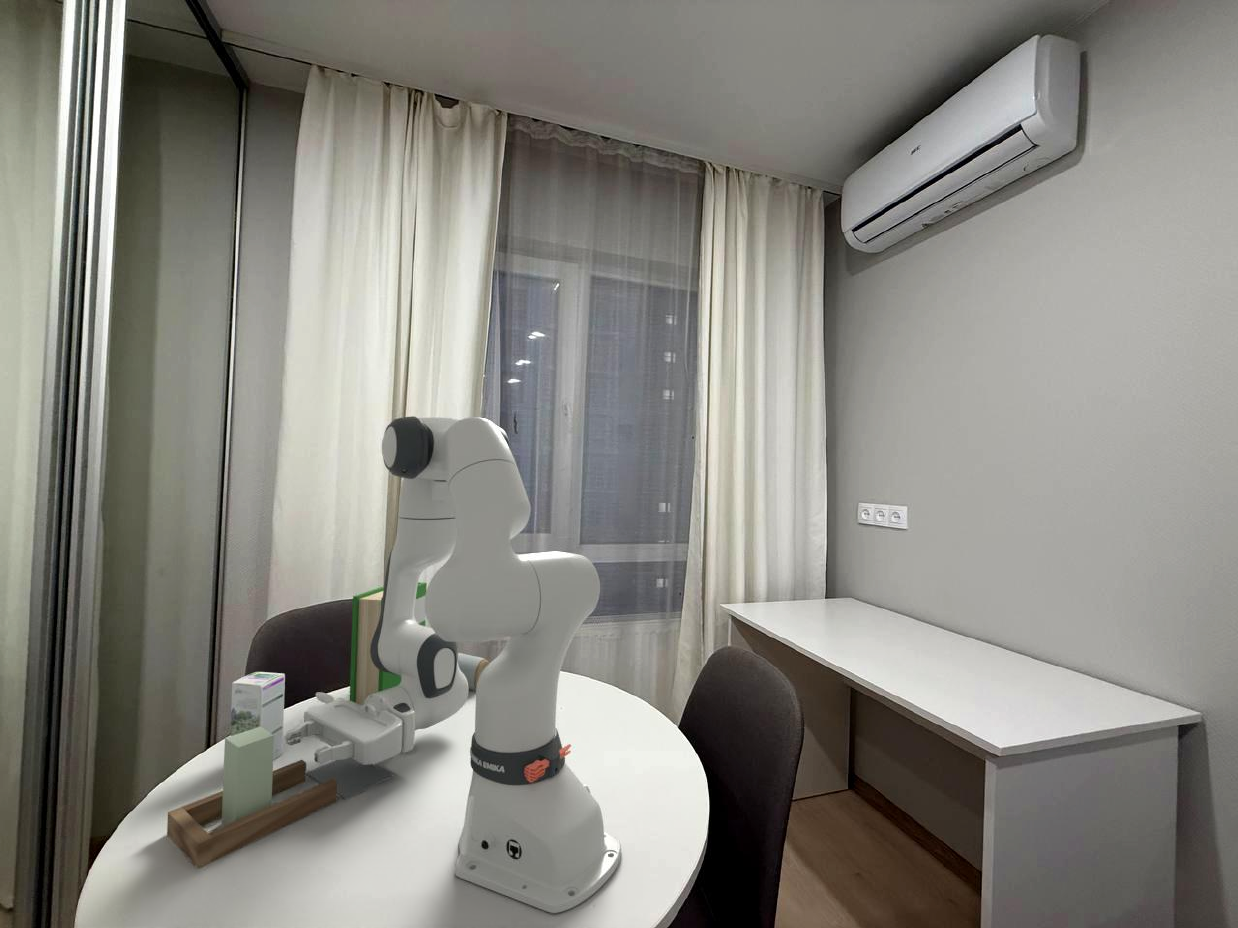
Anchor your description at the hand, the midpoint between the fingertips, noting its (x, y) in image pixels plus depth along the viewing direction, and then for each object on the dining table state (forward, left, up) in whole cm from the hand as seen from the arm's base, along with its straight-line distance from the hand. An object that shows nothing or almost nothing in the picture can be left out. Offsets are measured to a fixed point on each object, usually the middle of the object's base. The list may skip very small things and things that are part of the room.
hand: (301, 748), depth 83 cm
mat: (0, -8, -8) cm, 11 cm away
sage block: (0, +7, -8) cm, 10 cm away
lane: (0, +5, -8) cm, 9 cm away
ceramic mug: (+15, -46, -8) cm, 49 cm away
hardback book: (+25, -31, -8) cm, 40 cm away
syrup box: (+17, -1, -8) cm, 19 cm away
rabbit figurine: (+23, -17, -8) cm, 30 cm away
